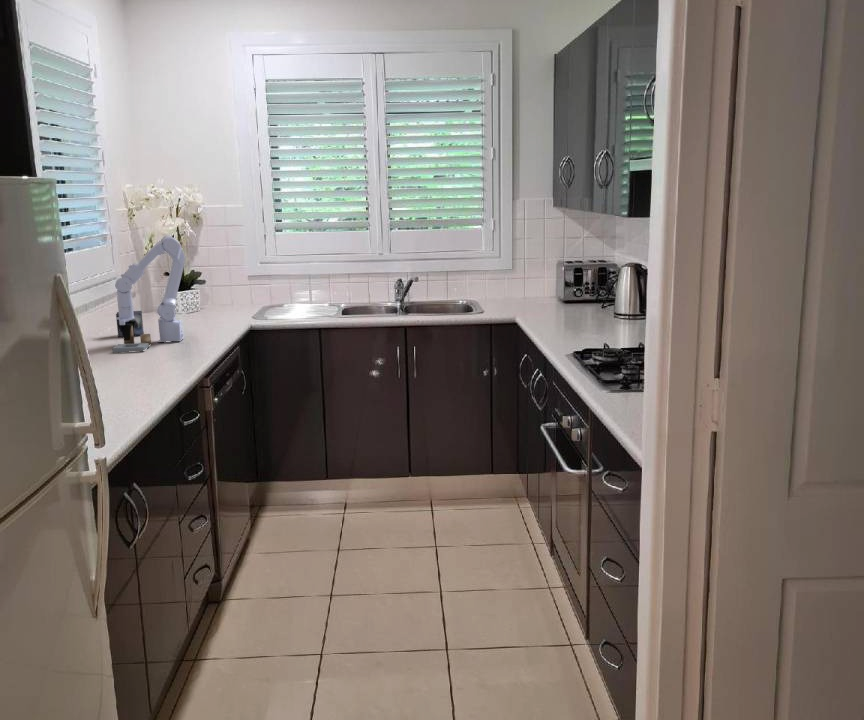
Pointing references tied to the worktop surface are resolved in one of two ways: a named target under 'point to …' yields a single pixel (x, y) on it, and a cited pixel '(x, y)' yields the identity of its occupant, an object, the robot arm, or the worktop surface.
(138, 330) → the small box
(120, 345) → the board
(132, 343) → the long dowel
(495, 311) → the worktop surface
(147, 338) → the short dowel
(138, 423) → the worktop surface
